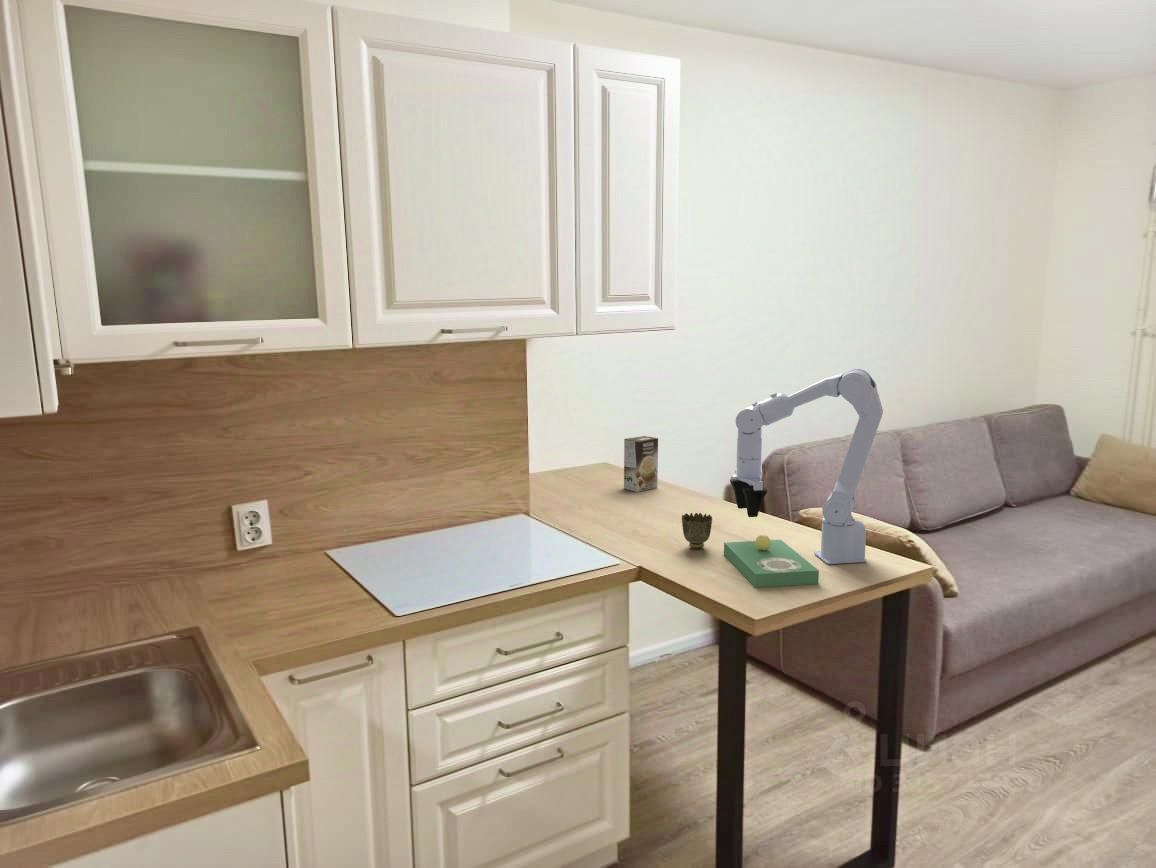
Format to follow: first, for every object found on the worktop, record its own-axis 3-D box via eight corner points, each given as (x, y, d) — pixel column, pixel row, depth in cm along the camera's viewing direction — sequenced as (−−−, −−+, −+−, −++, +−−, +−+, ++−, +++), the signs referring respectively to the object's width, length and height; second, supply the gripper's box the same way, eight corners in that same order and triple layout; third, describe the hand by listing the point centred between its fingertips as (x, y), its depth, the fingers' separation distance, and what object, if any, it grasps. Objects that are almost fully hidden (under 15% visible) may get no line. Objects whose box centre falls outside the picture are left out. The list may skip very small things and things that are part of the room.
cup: (711, 553, 198) (711, 521, 197) (680, 552, 200) (680, 520, 198) (712, 544, 205) (713, 512, 204) (682, 542, 207) (682, 511, 205)
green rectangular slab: (780, 551, 199) (780, 539, 199) (818, 583, 178) (818, 570, 177) (723, 554, 197) (724, 542, 197) (755, 587, 176) (755, 574, 175)
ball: (767, 547, 193) (768, 532, 192) (773, 552, 189) (773, 537, 189) (752, 548, 192) (753, 533, 192) (758, 553, 189) (758, 537, 188)
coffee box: (637, 492, 257) (637, 441, 254) (623, 488, 261) (623, 438, 259) (658, 487, 262) (658, 437, 259) (644, 484, 267) (644, 435, 264)
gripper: (723, 451, 205) (722, 505, 207) (742, 464, 190) (741, 521, 193) (751, 450, 206) (749, 503, 208) (772, 463, 191) (770, 520, 194)
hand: (747, 512), depth 201 cm, fingers open, 7 cm apart
